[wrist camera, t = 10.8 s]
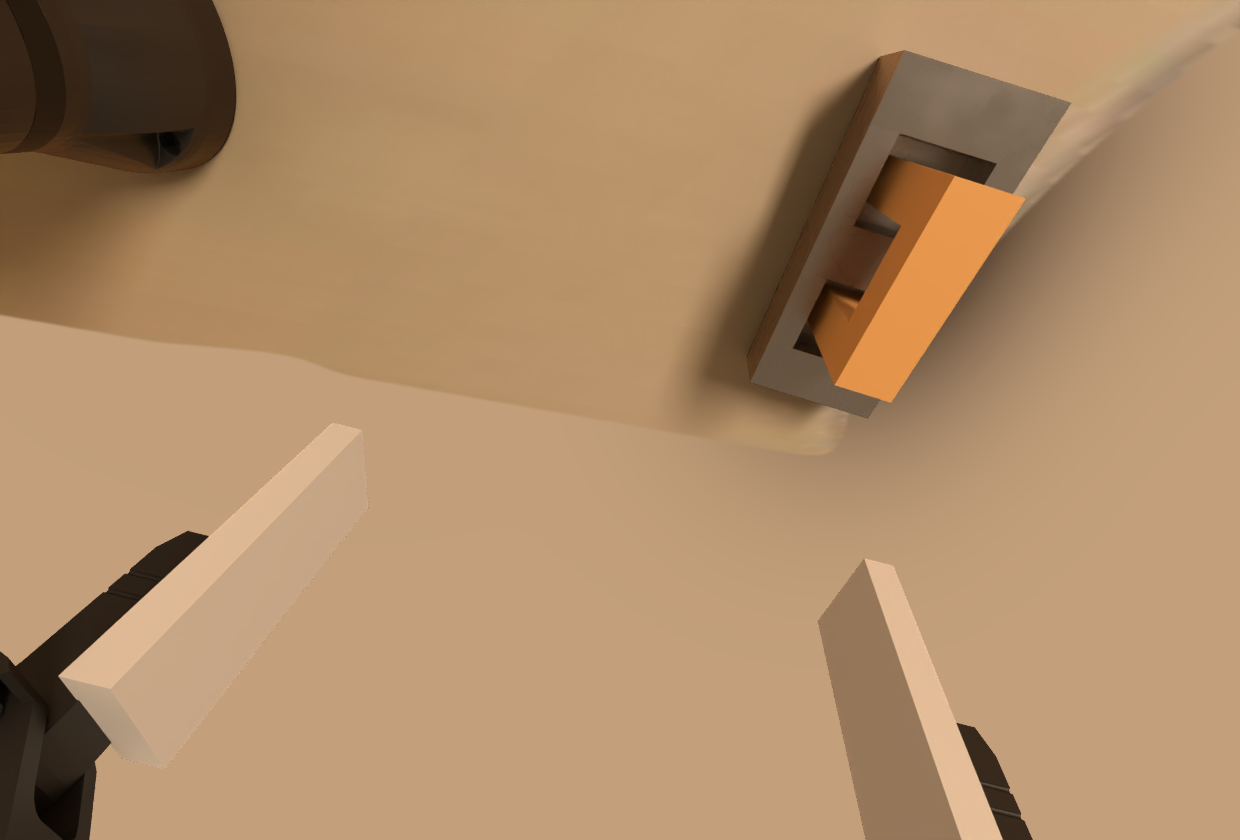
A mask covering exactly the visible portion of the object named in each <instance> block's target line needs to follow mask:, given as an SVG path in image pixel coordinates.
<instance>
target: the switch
mask: <svg viewBox="0 0 1240 840" xmlns="http://www.w3.org/2000/svg"><path fill="white" fill-rule="evenodd" d="M1070 104H1071V103H1070V102H1067V101H1064V100H1061V99H1057V98H1054V97H1051V96H1048V95H1045V94H1042V93H1038V92H1035V91H1032V90H1029V89H1026V88H1023V87H1019V86H1016V85H1013V84H1010V83H1007V82H1004V81H1000V80H997V79H994V78H991V77H988V76H985V75H981V74H978V73H975V72H972V71H969V70H966V69H962V68H959V67H956V66H953V65H950V64H947V63H943V62H940V61H937V60H934V59H931V58H928V57H924V56H921V55H918V54H915V53H912V52H909V51H905V50H904V51H900V52H896V53H892V54H888V55H884V56H881V57H880V59H879V61H878V63H877V66H876V68H875V70H874V72H873V75H872V77H871V79H870V81H869V84H868V86H867V88H866V90H865V93H864V95H863V97H862V99H861V102H860V104H859V106H858V108H857V110H856V113H855V115H854V117H853V119H852V122H851V124H850V126H849V128H848V131H847V133H846V135H845V137H844V140H843V142H842V144H841V146H840V149H839V151H838V153H837V155H836V158H835V160H834V162H833V164H832V167H831V169H830V171H829V173H828V176H827V178H826V180H825V182H824V185H823V187H822V189H821V191H820V194H819V196H818V198H817V200H816V202H815V205H814V207H813V209H812V211H811V214H810V216H809V218H808V220H807V223H806V225H805V227H804V229H803V232H802V234H801V236H800V238H799V241H798V243H797V245H796V247H795V250H794V252H793V254H792V256H791V259H790V261H789V263H788V265H787V268H786V270H785V272H784V274H783V277H782V279H781V281H780V283H779V285H778V288H777V290H776V292H775V294H774V297H773V299H772V301H771V303H770V306H769V308H768V310H767V312H766V315H765V317H764V319H763V321H762V324H761V326H760V328H759V330H758V333H757V335H756V337H755V339H754V342H753V344H752V346H751V348H750V351H749V353H748V355H747V361H748V368H749V376H750V382H751V383H754V384H757V385H761V386H764V387H767V388H770V389H774V390H777V391H780V392H783V393H787V394H790V395H793V396H796V397H800V398H803V399H806V400H809V401H812V402H816V403H819V404H822V405H825V406H829V407H832V408H835V409H838V410H842V411H845V412H848V413H851V414H855V415H858V416H861V417H864V418H869V416H870V415H871V413H872V411H873V410H874V408H875V407H876V405H877V404H878V402H879V401H880V399H878V398H874V397H871V396H868V395H865V394H862V393H858V392H855V391H852V390H849V389H845V388H842V387H839V386H836V385H834V382H833V380H832V378H831V375H830V373H829V371H828V368H827V366H826V364H825V361H824V359H823V356H822V354H821V352H820V349H819V347H818V345H817V342H816V340H815V337H814V335H813V333H812V330H811V328H810V326H809V323H808V321H807V319H808V317H809V315H810V313H811V311H812V308H813V306H814V304H815V302H816V300H817V298H818V296H819V294H820V292H821V290H822V288H823V286H824V284H825V283H828V284H831V285H835V286H838V287H841V288H844V289H847V290H851V291H854V292H857V293H860V294H863V295H864V293H865V291H866V289H867V287H868V286H869V284H870V282H871V280H872V278H873V276H874V275H875V273H876V271H877V269H878V267H879V265H880V264H881V262H882V260H883V258H884V256H885V254H886V253H887V251H888V249H889V247H890V245H891V244H892V242H893V240H894V238H895V236H896V234H897V233H898V231H899V229H900V227H901V226H900V225H899V224H897V223H896V222H894V221H893V220H892V219H890V218H889V217H887V216H886V215H884V214H883V213H881V212H880V211H878V210H877V209H875V208H874V207H872V206H871V205H869V204H868V203H867V202H866V200H867V198H868V196H869V194H870V192H871V190H872V188H873V186H874V184H875V182H876V180H877V178H878V176H879V174H880V172H881V170H882V168H883V166H884V164H885V162H886V160H887V158H888V156H889V155H891V156H894V157H897V158H900V159H903V160H907V161H910V162H913V163H916V164H919V165H923V166H926V167H929V168H932V169H935V170H939V171H942V172H945V173H948V174H951V175H954V176H957V177H960V178H964V179H967V180H970V181H973V182H976V183H979V184H982V185H985V186H989V187H992V188H995V189H998V190H1001V191H1004V192H1007V193H1010V194H1013V193H1014V191H1015V190H1016V188H1017V187H1018V185H1019V183H1020V182H1021V180H1022V179H1023V177H1024V176H1025V174H1026V173H1027V171H1028V169H1029V168H1030V166H1031V165H1032V163H1033V162H1034V160H1035V159H1036V157H1037V155H1038V154H1039V152H1040V151H1041V149H1042V148H1043V146H1044V145H1045V143H1046V142H1047V140H1048V138H1049V137H1050V135H1051V134H1052V132H1053V131H1054V129H1055V128H1056V126H1057V124H1058V123H1059V121H1060V120H1061V118H1062V117H1063V115H1064V114H1065V112H1066V110H1067V109H1068V107H1069V106H1070Z"/></svg>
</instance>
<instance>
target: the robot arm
mask: <svg viewBox="0 0 1240 840" xmlns="http://www.w3.org/2000/svg"><path fill="white" fill-rule="evenodd" d="M235 94H236V91H235V76H234V69H233V63H232V58H231V53H230V49H229V45H228V42H227V38H226V35H225V32H224V29H223V26H222V23H221V21H220V18H219V15H218V13H217V11H216V8H215V6H214V4H213V2H212V0H0V154H5V153H19V152H32V151H33V152H38V153H43V154H48V155H53V156H58V157H62V158H67V159H72V160H77V161H81V162H86V163H91V164H96V165H101V166H105V167H110V168H115V169H120V170H125V171H130V172H137V173H161V172H168V171H176V170H184V169H189V168H193V167H196V166H198V165H200V164H203V163H204V162H206V161H208V160H209V159H210V158H211V157H213V156H214V155H215V154H216V153H217V152H218V150H219V149H220V148H221V147H222V145H223V143H224V142H225V140H226V138H227V136H228V134H229V131H230V128H231V125H232V121H233V116H234V110H235ZM368 508H369V504H368V493H367V481H366V470H365V458H364V447H363V436H362V430H359V429H355V428H351V427H348V426H343V425H340V424H336V423H331V425H329V426H328V427H327V428H326V429H325V430H324V431H323V432H322V433H321V434H319V435H318V436H317V437H316V438H315V439H314V440H313V441H312V442H311V443H310V444H309V445H308V446H307V447H306V448H304V449H303V450H302V451H301V452H300V453H299V454H298V455H297V456H296V457H295V458H294V459H292V460H291V461H290V462H289V463H288V464H287V465H286V466H285V467H284V468H283V469H282V470H281V471H280V472H279V473H277V474H276V475H275V476H274V477H273V478H272V479H271V480H270V481H269V482H268V483H266V484H265V485H264V486H263V487H262V488H261V489H260V490H259V491H258V492H257V493H256V494H255V495H254V496H252V497H251V498H250V499H249V500H248V501H247V502H246V503H245V504H244V505H243V506H242V507H241V508H239V509H238V510H237V511H236V512H235V513H234V514H233V515H232V516H231V517H230V518H229V519H228V520H227V521H225V522H224V523H223V524H222V525H221V526H220V527H219V528H218V529H217V530H216V531H215V532H214V533H212V534H211V535H210V536H206V535H202V534H198V533H194V532H190V531H187V532H185V533H183V534H181V535H179V536H177V537H175V538H173V539H171V540H169V541H167V542H165V543H163V544H161V545H159V546H157V547H156V548H154V549H153V550H152V551H151V552H150V553H148V554H147V555H146V556H145V557H144V558H143V559H142V560H140V561H139V562H138V563H137V564H136V565H134V566H133V567H132V568H131V569H130V572H129V573H128V574H124V575H123V576H122V577H121V578H120V579H118V580H117V581H116V582H115V583H113V584H112V585H111V586H110V587H109V589H108V591H107V592H105V593H104V592H103V593H102V594H101V595H99V596H98V597H97V598H96V599H95V600H93V601H92V602H91V603H90V604H89V605H88V606H86V607H85V608H84V609H83V610H82V611H81V612H79V613H78V614H77V615H76V616H75V617H74V618H72V619H71V620H70V621H69V622H68V623H66V624H65V625H64V626H63V627H62V628H61V629H59V630H58V631H57V632H56V633H55V634H54V635H52V636H51V637H50V638H49V639H48V640H47V641H45V642H44V643H43V644H42V645H41V646H40V647H38V648H37V649H36V650H35V651H34V652H32V653H31V654H30V655H29V656H28V657H27V658H25V659H24V660H23V661H22V662H21V663H19V664H18V665H17V666H15V665H14V664H13V663H12V662H11V661H10V660H9V658H8V657H7V656H5V655H4V654H3V653H1V652H0V840H89V836H90V828H91V819H92V810H93V800H94V791H95V781H96V773H97V772H96V766H95V760H96V759H97V758H98V757H99V756H100V755H101V754H102V753H103V752H104V750H105V749H106V748H107V747H108V746H109V745H110V744H111V745H112V746H113V748H114V749H115V750H116V752H117V753H118V754H119V756H120V757H121V758H122V759H126V760H130V761H134V762H139V763H143V764H146V765H151V766H155V767H159V768H163V769H165V768H166V767H167V766H168V764H169V763H170V762H171V760H172V759H173V758H174V757H175V755H176V754H177V753H178V752H179V750H180V749H181V748H182V746H183V745H184V744H185V742H186V741H187V740H188V739H189V737H190V736H191V735H192V733H193V732H194V731H195V730H196V728H197V727H198V725H200V723H201V722H202V721H203V719H204V718H205V717H206V716H207V714H208V713H209V712H210V710H211V709H212V708H213V706H214V705H215V704H216V703H217V701H218V700H219V699H220V698H221V696H222V695H223V694H224V693H225V691H226V690H227V689H228V687H229V686H230V685H231V683H232V682H233V681H234V680H235V678H236V677H237V676H238V675H239V673H240V672H241V671H242V669H243V668H244V667H245V665H246V664H247V663H248V662H249V660H250V659H251V658H252V656H253V655H254V654H255V653H256V651H257V650H258V649H259V648H260V646H261V645H262V644H263V642H264V641H265V640H266V639H267V637H268V636H269V635H270V634H271V632H272V631H273V630H274V628H275V627H276V626H277V625H278V623H279V622H280V621H281V619H282V618H283V617H284V616H285V614H286V613H287V612H288V610H289V609H290V608H291V607H292V605H293V604H294V603H295V601H296V600H297V599H298V598H299V596H300V595H301V594H302V592H303V591H304V590H305V589H306V587H307V586H308V585H309V583H310V582H311V581H312V580H313V578H314V577H315V576H316V574H317V573H318V572H319V571H320V569H321V568H322V567H323V566H324V564H325V563H326V562H327V560H328V559H329V558H330V557H331V555H332V554H333V553H334V551H335V550H336V549H337V548H338V546H339V545H340V544H341V542H342V541H343V540H344V538H345V537H346V536H347V535H348V533H349V532H350V531H351V530H352V528H353V527H354V526H355V524H356V523H357V522H358V521H359V519H360V518H361V517H362V515H363V514H364V513H365V511H366V510H367V509H368ZM818 624H819V629H820V634H821V638H822V643H823V647H824V652H825V656H826V661H827V665H828V670H829V675H830V679H831V684H832V688H833V693H834V698H835V702H836V707H837V711H838V716H839V720H840V725H841V729H842V734H843V739H844V743H845V747H846V752H847V757H848V761H849V766H850V771H851V775H852V779H853V784H854V789H855V793H856V798H857V802H858V807H859V811H860V816H861V821H862V825H863V830H864V834H865V839H866V840H1033V839H1032V837H1031V835H1030V833H1029V830H1028V828H1027V826H1026V824H1025V821H1023V820H1022V819H1021V817H1020V816H1021V812H1020V810H1019V808H1018V806H1017V803H1016V801H1015V799H1014V796H1013V794H1010V792H1009V789H1010V787H1009V785H1008V783H1007V780H1006V778H1005V776H1004V774H1003V771H1002V769H1001V767H1000V765H999V762H998V760H997V758H996V756H995V755H994V753H993V752H992V750H991V749H990V748H989V746H988V745H987V744H986V742H985V741H984V740H983V738H982V737H981V735H980V734H979V733H978V731H977V730H976V729H975V727H971V726H967V725H963V724H958V723H956V722H955V719H954V717H953V714H952V711H951V709H950V707H949V704H948V701H947V699H946V696H945V694H944V691H943V689H942V686H941V684H940V681H939V679H938V676H937V674H936V671H935V669H934V667H933V664H932V662H931V659H930V656H929V654H928V652H927V649H926V647H925V644H924V642H923V639H922V636H921V634H920V632H919V629H918V627H917V624H916V622H915V619H914V617H913V614H912V612H911V609H910V607H909V604H908V602H907V599H906V597H905V594H904V592H903V589H902V587H901V584H900V582H899V579H898V577H897V574H896V572H895V569H894V567H893V566H892V565H888V564H884V563H881V562H876V561H873V560H869V559H863V561H862V562H861V563H860V565H859V566H858V568H857V569H856V570H855V572H854V573H853V574H852V576H851V577H850V578H849V580H848V581H847V583H846V584H845V585H844V586H843V588H842V589H841V590H840V592H839V593H838V594H837V596H836V597H835V599H834V600H833V601H832V603H831V604H830V605H829V607H828V608H827V609H826V611H825V612H824V613H823V615H822V616H821V617H820V619H819V620H818Z"/></svg>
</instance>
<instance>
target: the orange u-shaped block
mask: <svg viewBox="0 0 1240 840" xmlns="http://www.w3.org/2000/svg"><path fill="white" fill-rule="evenodd" d="M1025 199H1026V198H1023V197H1020V196H1017V195H1014V194H1010V193H1007V192H1004V191H1001V190H998V189H995V188H992V187H989V186H985V185H982V184H979V183H976V182H973V181H970V180H967V179H964V178H960V177H957V176H954V175H951V174H948V173H945V172H942V171H939V170H935V169H932V168H929V167H926V166H923V165H919V164H916V163H913V162H910V161H907V160H903V159H900V158H897V157H894V156H891V155H889V156H888V158H887V160H886V162H885V164H884V166H883V168H882V170H881V172H880V174H879V176H878V178H877V180H876V182H875V184H874V186H873V188H872V190H871V192H870V194H869V196H868V198H867V200H866V202H867V203H868V204H869V205H871V206H872V207H874V208H875V209H877V210H878V211H880V212H881V213H883V214H884V215H886V216H887V217H889V218H890V219H892V220H893V221H894V222H896V223H897V224H899V225H900V226H901V227H900V229H899V231H898V233H897V234H896V236H895V238H894V240H893V242H892V244H891V245H890V247H889V249H888V251H887V253H886V254H885V256H884V258H883V260H882V262H881V264H880V265H879V267H878V269H877V271H876V273H875V275H874V276H873V278H872V280H871V282H870V284H869V286H868V287H867V289H866V291H865V293H864V295H863V294H860V293H857V292H854V291H851V290H847V289H844V288H841V287H838V286H835V285H831V284H828V283H825V284H824V286H823V288H822V290H821V292H820V294H819V296H818V298H817V300H816V302H815V304H814V306H813V308H812V311H811V313H810V315H809V317H808V319H807V321H808V323H809V326H810V328H811V330H812V333H813V335H814V337H815V340H816V342H817V345H818V347H819V349H820V352H821V354H822V356H823V359H824V361H825V364H826V366H827V368H828V371H829V373H830V375H831V378H832V380H833V382H834V385H836V386H839V387H842V388H845V389H849V390H852V391H855V392H858V393H862V394H865V395H868V396H871V397H874V398H878V399H881V400H884V401H887V402H892V400H893V399H894V397H895V396H896V394H897V393H898V391H899V390H900V388H901V386H902V385H903V384H904V382H905V381H906V379H907V378H908V376H909V374H910V373H911V372H912V370H913V368H914V367H915V365H916V364H917V362H918V361H919V359H920V358H921V356H922V355H923V353H924V352H925V350H926V349H927V347H928V346H929V344H930V343H931V341H932V340H933V338H934V337H935V335H936V334H937V332H938V331H939V329H940V328H941V326H942V325H943V323H944V322H945V320H946V319H947V317H948V316H949V314H950V313H951V311H952V309H953V308H954V306H955V305H956V303H957V302H958V300H959V299H960V297H961V296H962V294H963V293H964V291H965V290H966V288H967V287H968V285H969V284H970V282H971V281H972V279H973V278H974V276H975V275H976V273H977V272H978V270H979V269H980V267H981V266H982V264H983V263H984V261H985V260H986V258H987V256H988V255H989V253H990V252H991V250H992V249H993V247H994V246H995V244H996V243H997V241H998V240H999V238H1000V237H1001V235H1002V234H1003V232H1004V231H1005V229H1006V228H1007V226H1008V225H1009V223H1010V222H1011V220H1012V219H1013V217H1014V216H1015V214H1016V213H1017V211H1018V210H1019V208H1020V207H1021V205H1022V204H1023V202H1024V201H1025Z"/></svg>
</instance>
